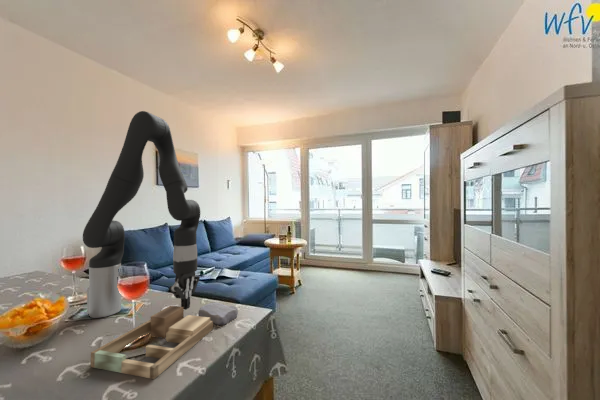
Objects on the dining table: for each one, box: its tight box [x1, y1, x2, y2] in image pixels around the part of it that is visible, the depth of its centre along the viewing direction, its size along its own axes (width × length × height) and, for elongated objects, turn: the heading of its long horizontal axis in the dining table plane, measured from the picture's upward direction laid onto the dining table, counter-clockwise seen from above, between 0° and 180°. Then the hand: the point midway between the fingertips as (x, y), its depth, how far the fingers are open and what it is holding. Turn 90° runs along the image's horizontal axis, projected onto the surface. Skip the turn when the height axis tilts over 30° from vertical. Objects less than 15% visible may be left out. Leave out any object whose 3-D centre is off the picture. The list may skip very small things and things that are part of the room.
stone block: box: [197, 302, 239, 326], centre depth 87 cm, size 12×5×10 cm
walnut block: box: [150, 305, 185, 339], centre depth 78 cm, size 5×8×6 cm, turn 166°
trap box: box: [90, 314, 214, 380], centre depth 70 cm, size 18×23×4 cm
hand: (185, 308), depth 86 cm, fingers closed
